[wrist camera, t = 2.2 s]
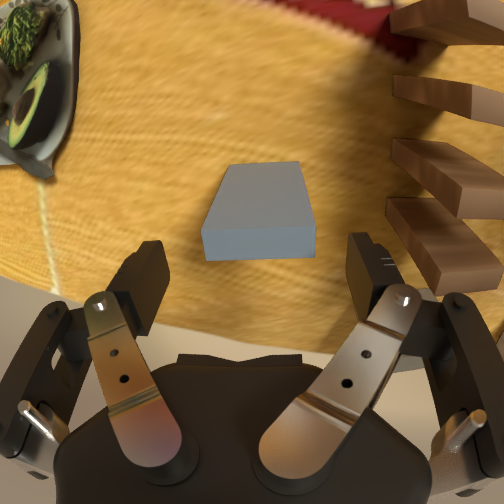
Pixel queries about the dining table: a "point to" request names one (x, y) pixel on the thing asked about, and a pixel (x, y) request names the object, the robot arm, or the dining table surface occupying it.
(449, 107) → the walnut domino
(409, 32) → the walnut domino
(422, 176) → the walnut domino
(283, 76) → the dining table surface
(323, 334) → the dining table surface
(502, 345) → the coffee box
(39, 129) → the salad plate
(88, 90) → the dining table surface
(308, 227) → the slate domino
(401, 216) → the walnut domino
